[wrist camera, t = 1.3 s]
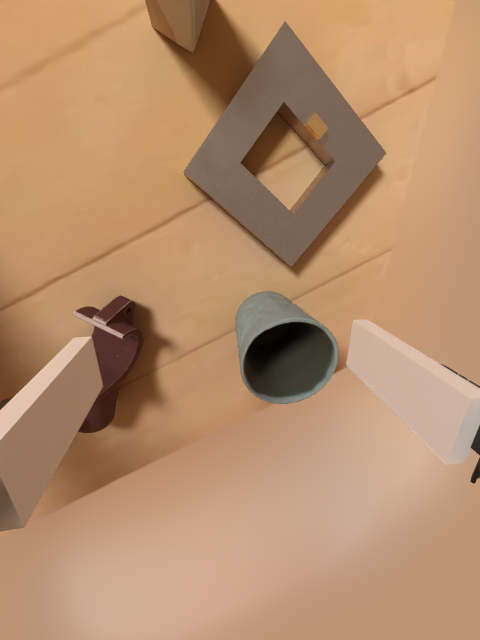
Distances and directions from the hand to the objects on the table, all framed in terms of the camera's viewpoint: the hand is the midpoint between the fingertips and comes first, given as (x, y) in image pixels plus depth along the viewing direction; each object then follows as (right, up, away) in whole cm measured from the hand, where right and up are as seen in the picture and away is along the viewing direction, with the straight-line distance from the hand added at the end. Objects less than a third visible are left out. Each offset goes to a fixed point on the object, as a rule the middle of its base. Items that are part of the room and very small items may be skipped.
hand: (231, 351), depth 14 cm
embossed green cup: (+4, +2, +24) cm, 25 cm away
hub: (+5, +20, +17) cm, 27 cm away
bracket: (-18, -3, +23) cm, 29 cm away
